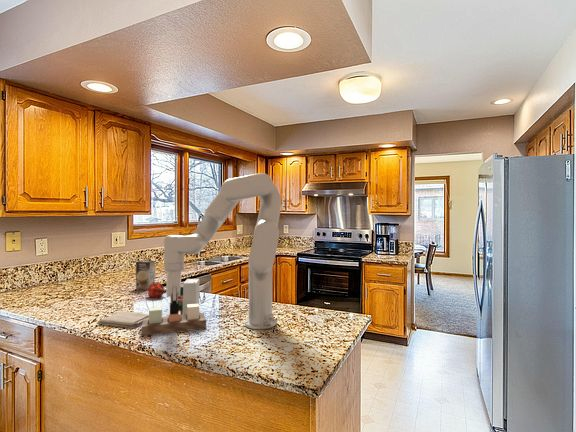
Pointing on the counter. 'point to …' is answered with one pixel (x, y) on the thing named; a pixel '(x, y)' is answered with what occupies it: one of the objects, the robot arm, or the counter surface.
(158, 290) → the dragon fruit
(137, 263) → the coffee box
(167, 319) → the brown slotted tray
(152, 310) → the sage key
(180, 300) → the canned tomato
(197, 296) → the skincare box
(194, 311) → the cream key
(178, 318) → the terracotta key
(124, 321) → the washcloth
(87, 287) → the counter surface
